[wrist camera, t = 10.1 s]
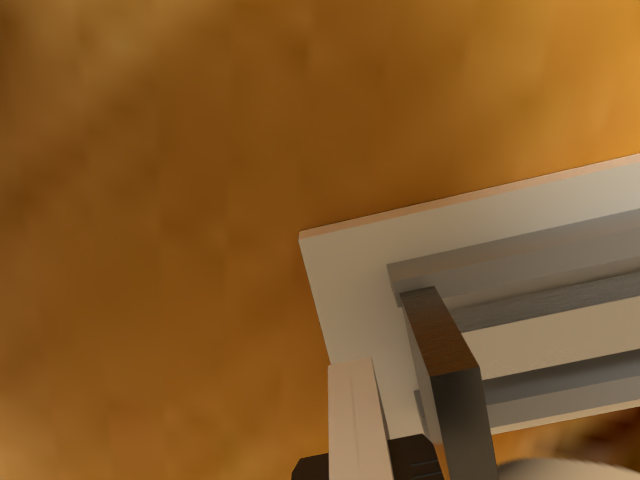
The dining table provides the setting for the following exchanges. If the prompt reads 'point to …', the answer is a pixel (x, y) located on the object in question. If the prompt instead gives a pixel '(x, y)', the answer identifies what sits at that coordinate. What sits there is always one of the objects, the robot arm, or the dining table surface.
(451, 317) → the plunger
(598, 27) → the dining table surface
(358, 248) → the base
